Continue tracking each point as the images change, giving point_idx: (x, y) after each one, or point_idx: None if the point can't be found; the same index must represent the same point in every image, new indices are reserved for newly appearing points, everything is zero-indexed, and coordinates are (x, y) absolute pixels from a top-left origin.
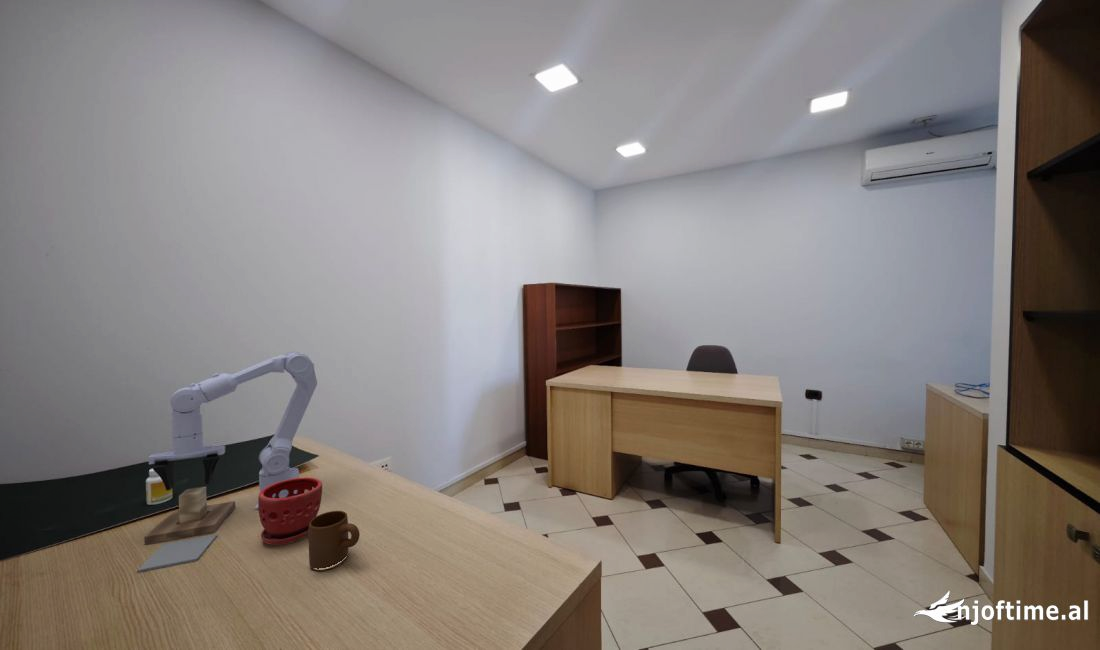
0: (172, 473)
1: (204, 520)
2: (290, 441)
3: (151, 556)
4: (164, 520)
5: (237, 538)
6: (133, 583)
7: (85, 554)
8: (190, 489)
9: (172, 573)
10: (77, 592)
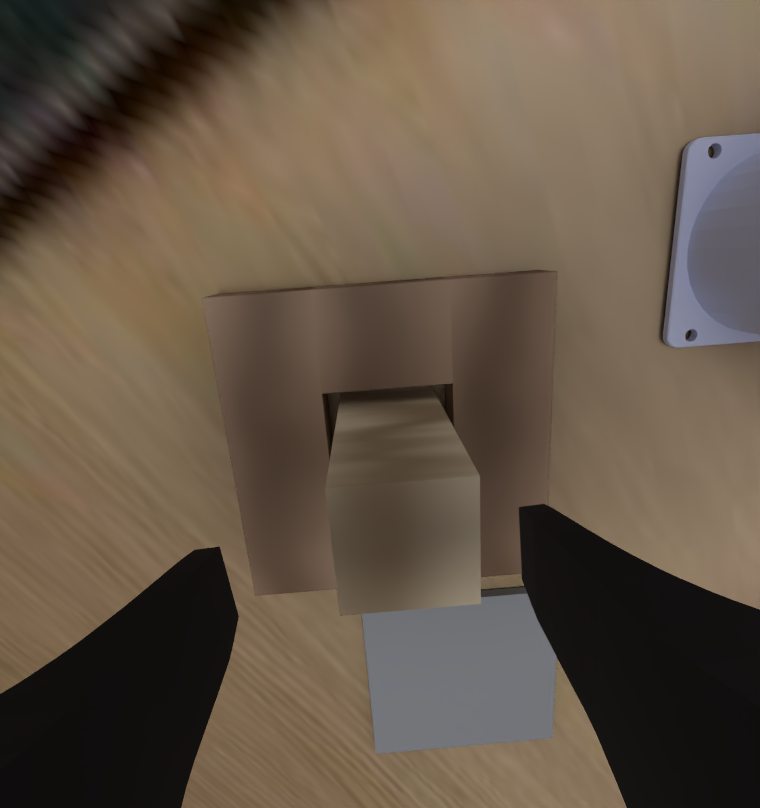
0: (141, 662)
1: None
2: None
3: (370, 686)
4: (235, 438)
5: None
6: (402, 791)
7: (45, 572)
8: (364, 505)
9: (498, 773)
10: (255, 793)
